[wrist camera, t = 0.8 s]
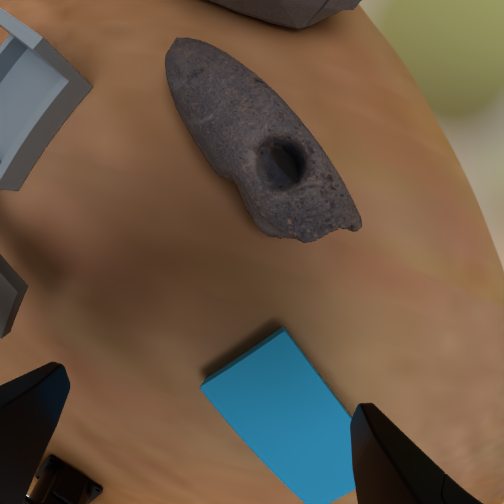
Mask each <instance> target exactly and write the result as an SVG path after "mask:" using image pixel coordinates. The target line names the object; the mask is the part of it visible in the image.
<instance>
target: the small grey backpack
mask: <svg viewBox="0 0 504 504" xmlns="http://www.w3.org/2000/svg"><path fill="white" fill-rule="evenodd" d="M210 1H212V2H215V3H217V4H219V5H222V6H224V7H227V8H229V9H231V10H234V11H236V12H239V13H243V14H246V15H249V16H252V17H255V18H258V19H261V20H264V21H267V22H270V23H273V24H278V25H283V26H287V27H292V28H296V29H301V28H304V27H307V26H311V25H313V24H315V23H317V22H319V21H321V20H323V19H325V18H327V17H329V16H331V15H333V14H336V13H338V12H340V11H342V10H354V8H355V7H356V6H357V5H358V4H359V2H360V1H361V0H210Z"/></svg>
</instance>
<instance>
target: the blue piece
mask: <svg viewBox="0 0 504 504" xmlns="http://www.w3.org/2000/svg"><path fill="white" fill-rule="evenodd" d="M200 389H201V390H202V392H203V393H204V394H205V396H206V397H207V398H208V399H209V401H210V402H211V403H212V404H213V405H214V407H215V408H216V409H217V410H218V412H219V413H220V414H221V415H222V416H223V418H224V419H225V420H226V421H227V422H228V424H229V425H230V426H231V427H232V428H233V429H234V430H235V432H236V433H237V434H238V435H239V436H240V437H241V438H242V440H243V441H244V442H245V443H246V444H247V445H248V446H249V447H250V448H251V450H252V451H253V452H254V453H255V454H256V455H257V456H258V457H259V458H260V459H261V460H262V461H263V462H264V463H265V465H266V466H267V467H268V468H269V469H270V470H271V471H272V472H273V473H274V474H275V475H276V476H277V477H278V478H279V479H280V480H281V481H282V482H283V483H284V484H285V485H286V486H287V487H288V488H289V489H290V490H291V491H292V492H293V493H294V494H296V495H297V496H298V497H299V498H300V499H301V500H302V501H303V502H304V503H305V504H329V503H331V502H333V501H334V500H336V499H338V498H340V497H342V496H343V495H345V494H347V493H349V492H350V491H352V490H354V489H356V488H355V482H354V476H353V469H352V452H351V435H350V423H351V420H352V417H351V415H350V414H349V413H348V412H347V410H346V409H345V408H344V406H343V405H342V404H341V402H340V401H339V400H338V398H337V397H336V396H335V394H334V393H333V392H332V390H331V389H330V388H329V386H328V385H327V384H326V382H325V381H324V380H323V378H322V377H321V376H320V374H319V373H318V372H317V370H316V369H315V368H314V366H313V365H312V364H311V362H310V361H309V360H308V358H307V357H306V356H305V354H304V353H303V352H302V350H301V349H300V348H299V346H298V345H297V344H296V342H295V341H294V340H293V338H292V337H291V335H290V334H289V333H288V332H287V330H286V329H285V328H284V327H281V328H280V329H278V330H277V331H275V332H274V333H273V334H271V335H270V336H268V337H267V338H265V339H264V340H263V341H261V342H260V343H258V344H257V345H255V346H254V347H252V348H251V349H249V350H248V351H247V352H245V353H244V354H242V355H241V356H239V357H238V358H236V359H235V360H233V361H232V362H230V363H229V364H227V365H225V366H224V367H222V368H221V369H219V370H218V371H216V372H215V373H213V374H212V375H210V376H208V377H207V378H206V379H205V380H204V382H203V383H202V385H201V386H200Z"/></svg>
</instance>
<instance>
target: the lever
mask: <svg viewBox="0 0 504 504" xmlns="http://www.w3.org/2000/svg"><path fill="white" fill-rule="evenodd" d="M27 288H28V285H27V284H26V283H25V282H24V281H23V280H22V278H21V277H20V276H19V275H18V274H17V273H16V272H15V271H14V270H13V269H12V267H11V266H10V265H9V264H8V263H7V262H6V261H5V259H4V258H3V257H2V256H1V255H0V338H1V339H2V338H3V337H4V336H5V335H7V334H8V333H9V332H10V331H11V328H12V326H13V323H14V320H15V318H16V315H17V312H18V310H19V307H20V305H21V302H22V300H23V297H24V295H25V293H26V290H27Z"/></svg>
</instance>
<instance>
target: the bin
mask: <svg viewBox="0 0 504 504" xmlns="http://www.w3.org/2000/svg"><path fill="white" fill-rule="evenodd" d="M0 26H1V27H2V28H3V29H4V30H5V31H7V32H8V33H9V34H10V35H9V36H8V37H7V39H6V40H5V41H4V42H3V43H2V45H1V46H0V190H12V191H19V189H20V187H21V186H22V184H23V182H24V181H25V179H26V177H27V176H28V174H29V172H30V171H31V169H32V168H33V166H34V164H35V163H36V161H37V160H38V158H39V157H40V155H41V154H42V152H43V151H44V149H45V148H46V147H47V145H48V144H49V142H50V141H51V139H52V138H53V137H54V135H55V134H56V133H57V131H58V130H59V129H60V127H61V126H62V125H63V123H64V122H65V121H66V119H67V118H68V117H69V116H70V114H71V113H72V112H73V111H74V109H75V108H76V107H77V106H78V104H79V103H80V102H81V101H82V100H83V98H84V97H85V96H86V95H87V94H88V93H89V91H90V90H91V89H92V88H93V87H92V86H91V85H90V84H89V83H88V82H87V81H86V80H85V79H84V78H83V77H82V76H81V75H80V74H79V73H78V72H77V71H76V70H75V69H74V68H73V67H72V66H71V65H70V64H69V63H68V62H67V61H66V60H65V59H64V58H63V57H62V56H61V55H60V54H59V53H58V52H57V51H56V50H55V49H54V48H53V47H52V46H51V45H50V44H49V43H48V42H47V41H46V40H45V39H44V38H43V37H42V36H40V35H39V34H38V33H36V32H35V31H33V30H32V29H31V28H29V27H28V26H26V25H25V24H23V23H22V22H20V21H19V20H17V19H16V18H15V17H13V16H12V15H10V14H9V13H7V12H6V11H4V10H3V9H1V8H0Z"/></svg>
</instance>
